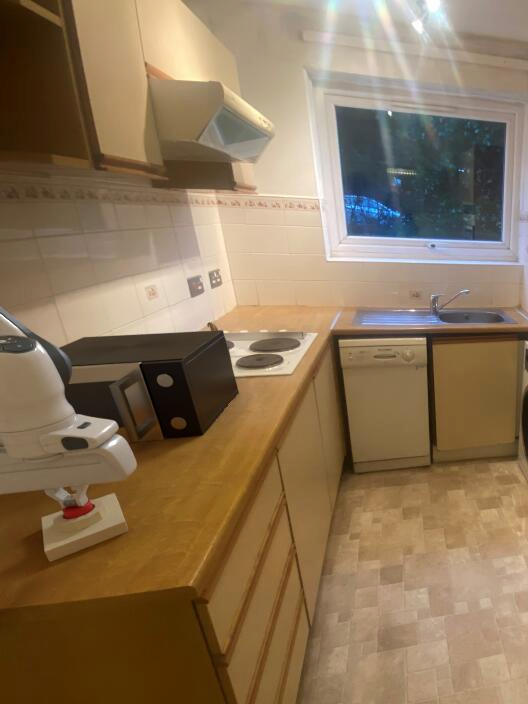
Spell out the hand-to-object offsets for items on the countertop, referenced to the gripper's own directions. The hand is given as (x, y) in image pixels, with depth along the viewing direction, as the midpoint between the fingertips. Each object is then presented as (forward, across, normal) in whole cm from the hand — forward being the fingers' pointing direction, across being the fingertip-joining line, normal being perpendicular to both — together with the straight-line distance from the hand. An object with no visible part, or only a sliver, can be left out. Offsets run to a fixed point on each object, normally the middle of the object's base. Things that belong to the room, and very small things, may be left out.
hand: (75, 505), depth 75 cm
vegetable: (+6, 0, +73) cm, 73 cm away
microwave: (+5, -11, +47) cm, 48 cm away
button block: (+5, 0, 0) cm, 5 cm away
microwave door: (+5, -15, +31) cm, 35 cm away
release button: (+2, 0, 0) cm, 2 cm away
